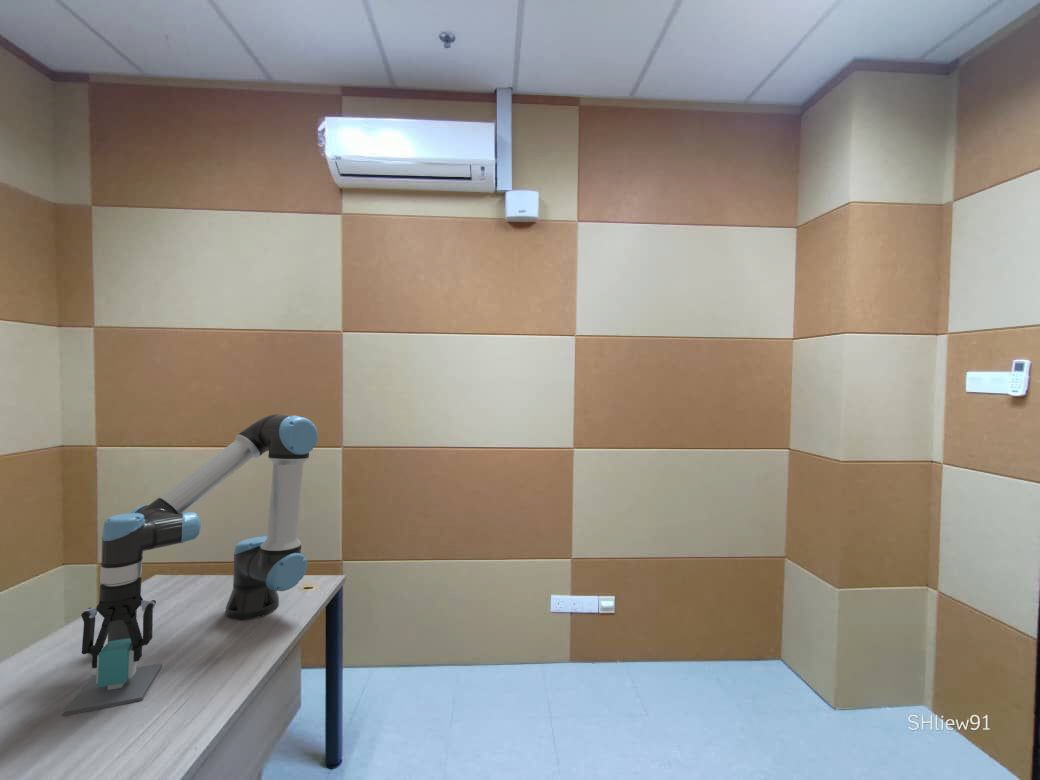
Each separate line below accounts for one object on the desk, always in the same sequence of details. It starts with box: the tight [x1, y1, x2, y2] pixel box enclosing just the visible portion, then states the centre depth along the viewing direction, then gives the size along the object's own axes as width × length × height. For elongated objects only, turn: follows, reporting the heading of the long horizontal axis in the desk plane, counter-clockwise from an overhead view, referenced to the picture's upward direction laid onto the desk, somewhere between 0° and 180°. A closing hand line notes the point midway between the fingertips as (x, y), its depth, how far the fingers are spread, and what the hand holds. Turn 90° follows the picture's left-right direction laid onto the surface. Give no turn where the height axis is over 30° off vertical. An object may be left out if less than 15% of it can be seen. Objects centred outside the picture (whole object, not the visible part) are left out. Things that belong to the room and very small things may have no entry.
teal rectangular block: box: [98, 638, 133, 687], centre depth 108 cm, size 5×5×8 cm
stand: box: [62, 662, 164, 717], centre depth 108 cm, size 14×14×7 cm
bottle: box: [107, 609, 138, 643], centre depth 125 cm, size 6×6×15 cm
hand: (116, 677), depth 108 cm, fingers closed on teal rectangular block, 5 cm apart
